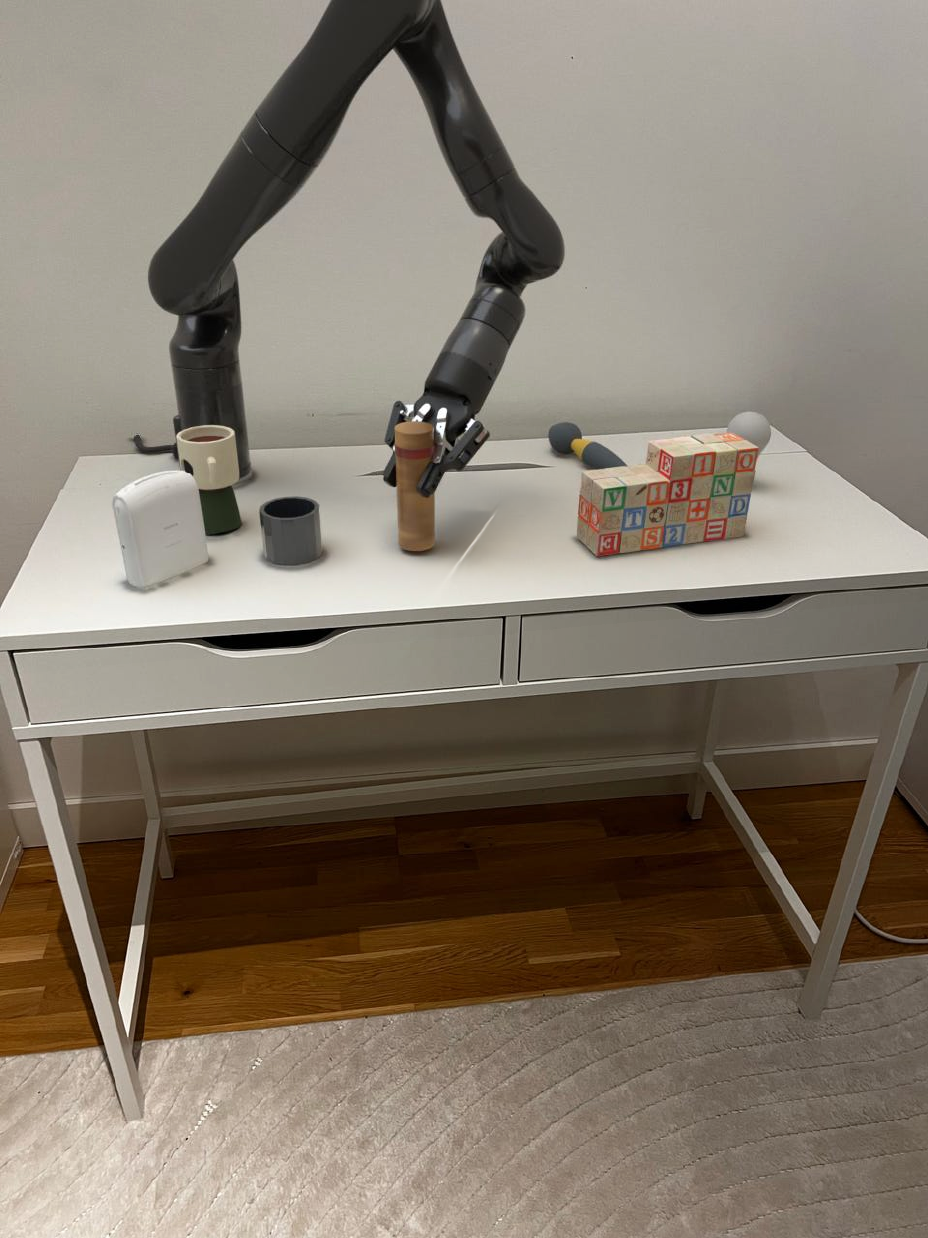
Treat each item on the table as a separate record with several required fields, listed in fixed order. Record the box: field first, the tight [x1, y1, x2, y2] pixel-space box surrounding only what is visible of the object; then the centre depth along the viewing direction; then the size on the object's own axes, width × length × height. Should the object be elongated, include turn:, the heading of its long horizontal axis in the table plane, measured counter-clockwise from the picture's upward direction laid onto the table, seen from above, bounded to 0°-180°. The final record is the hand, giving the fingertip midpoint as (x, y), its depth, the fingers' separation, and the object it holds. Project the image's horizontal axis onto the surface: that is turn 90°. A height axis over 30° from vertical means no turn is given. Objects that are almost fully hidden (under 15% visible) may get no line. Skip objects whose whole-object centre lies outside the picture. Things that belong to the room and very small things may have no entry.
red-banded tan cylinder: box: [394, 421, 436, 552], centre depth 117 cm, size 5×5×15 cm
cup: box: [258, 495, 324, 567], centre depth 119 cm, size 7×7×6 cm
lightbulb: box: [725, 411, 772, 459], centre depth 139 cm, size 6×6×11 cm
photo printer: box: [111, 470, 209, 588], centre depth 113 cm, size 10×4×12 cm, turn 140°
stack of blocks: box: [576, 432, 759, 557], centre depth 123 cm, size 21×6×12 cm, turn 109°
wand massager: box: [547, 421, 628, 470], centre depth 148 cm, size 20×5×5 cm, turn 38°
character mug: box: [175, 425, 243, 536], centre depth 124 cm, size 11×7×13 cm, turn 19°
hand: (405, 488), depth 116 cm, fingers closed on red-banded tan cylinder, 4 cm apart
